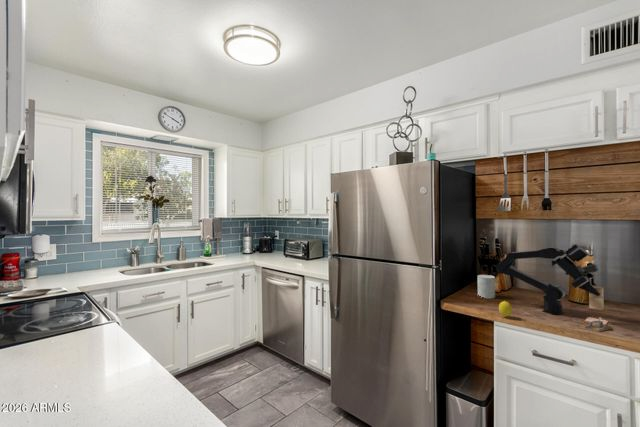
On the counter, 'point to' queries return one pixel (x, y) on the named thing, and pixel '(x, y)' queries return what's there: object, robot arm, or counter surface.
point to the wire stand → (597, 325)
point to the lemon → (505, 308)
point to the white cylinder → (486, 286)
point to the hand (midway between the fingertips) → (600, 294)
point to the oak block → (597, 299)
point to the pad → (595, 320)
